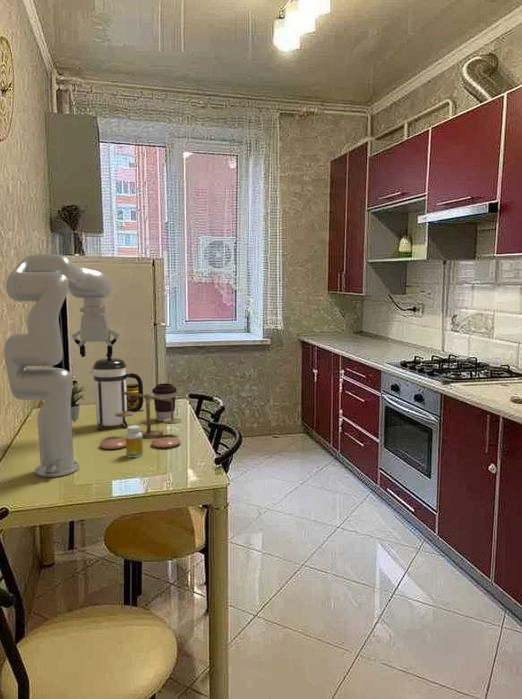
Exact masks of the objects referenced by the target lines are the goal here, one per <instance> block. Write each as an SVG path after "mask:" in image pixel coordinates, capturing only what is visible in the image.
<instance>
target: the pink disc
mask: <svg viewBox="0 0 522 699" xmlns="http://www.w3.org/2000/svg"><path fill="white" fill-rule="evenodd" d="M99 447H100V448H102V449H106V450H107V449H108V450H117V449H122V448H126V438H118V437H117V438H109V439H104V440H102V441H101V442H100V443H99Z"/></svg>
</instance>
